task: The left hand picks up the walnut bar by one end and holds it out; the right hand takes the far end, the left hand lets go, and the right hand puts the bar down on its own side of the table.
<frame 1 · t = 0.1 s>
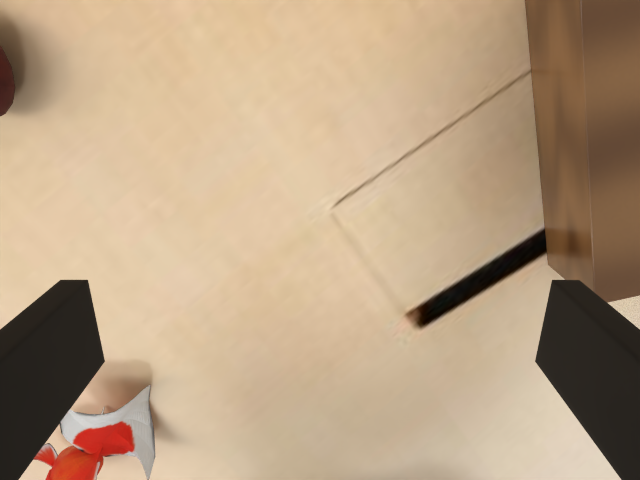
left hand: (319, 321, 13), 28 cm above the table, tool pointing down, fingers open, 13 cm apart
bar: (564, 136, 39), on the table
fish: (112, 415, 49), on the table
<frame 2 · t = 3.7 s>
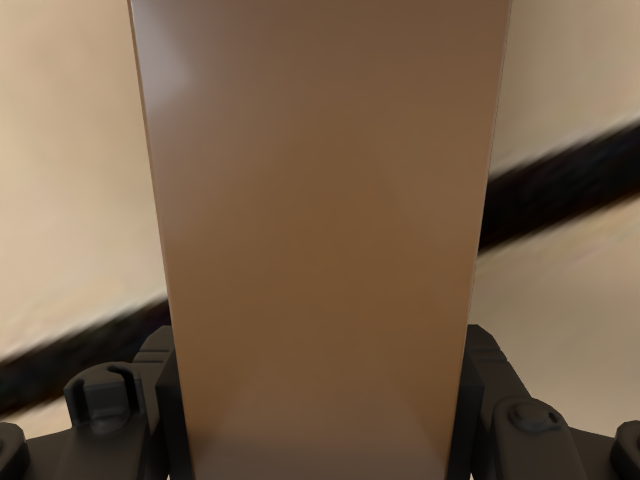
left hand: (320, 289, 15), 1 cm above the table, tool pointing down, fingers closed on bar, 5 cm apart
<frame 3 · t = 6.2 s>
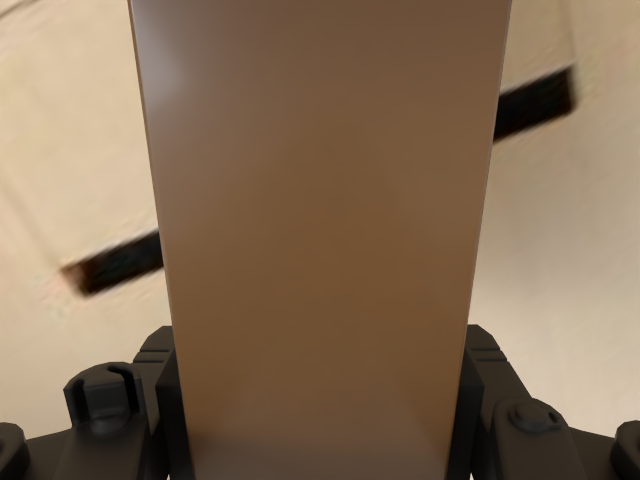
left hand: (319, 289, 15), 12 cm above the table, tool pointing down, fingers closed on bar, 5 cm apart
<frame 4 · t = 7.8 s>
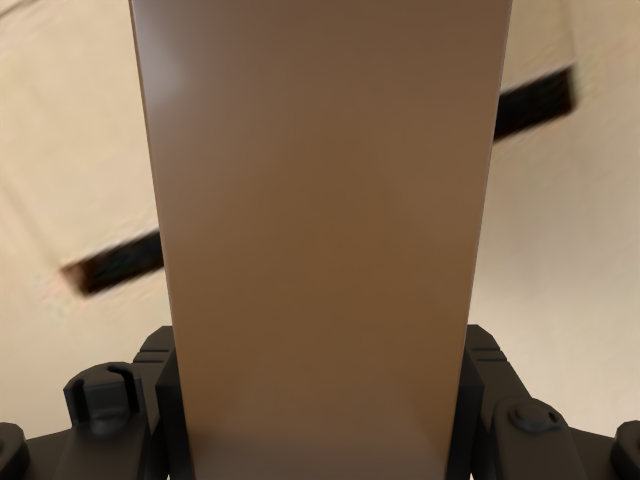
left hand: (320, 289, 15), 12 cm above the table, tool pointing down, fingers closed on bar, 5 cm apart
when the left hand's fingers open (12 cm above the table, at t = 8.8 s): bar stays where it is, held by the right hand.
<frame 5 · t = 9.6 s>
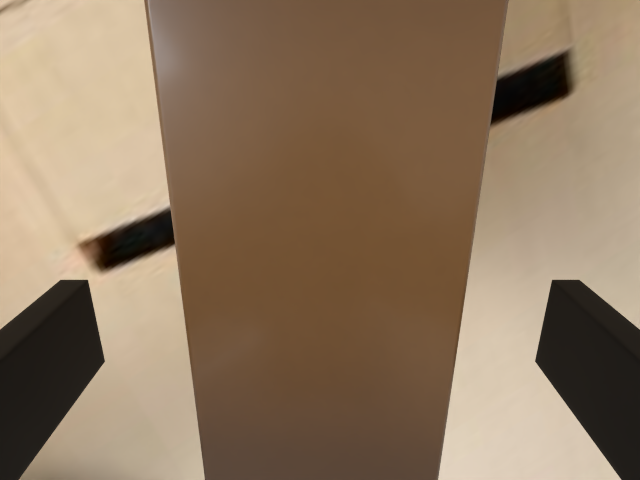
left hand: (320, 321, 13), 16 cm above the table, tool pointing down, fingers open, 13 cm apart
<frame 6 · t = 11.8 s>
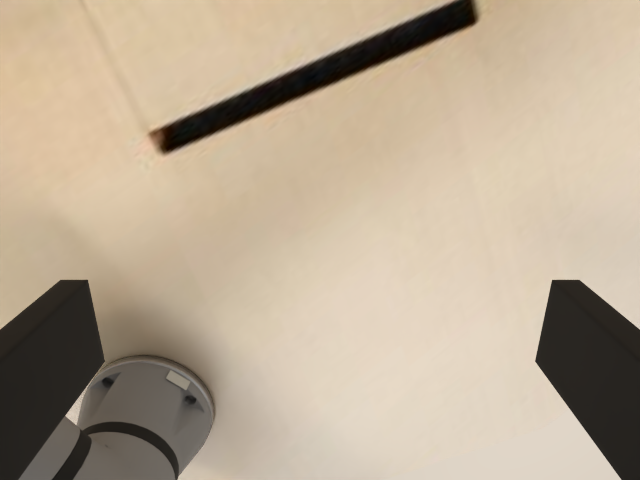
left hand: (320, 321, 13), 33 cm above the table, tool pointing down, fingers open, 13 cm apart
when the right hand's fingers open (4 cm above the table, at t = 16.1 s): bar stays where it is, on the table.
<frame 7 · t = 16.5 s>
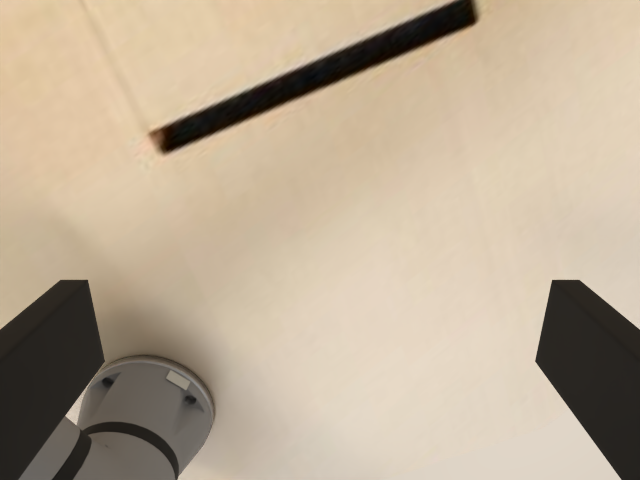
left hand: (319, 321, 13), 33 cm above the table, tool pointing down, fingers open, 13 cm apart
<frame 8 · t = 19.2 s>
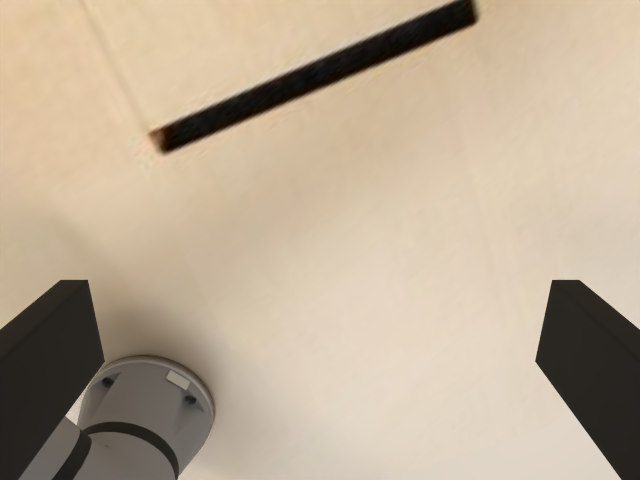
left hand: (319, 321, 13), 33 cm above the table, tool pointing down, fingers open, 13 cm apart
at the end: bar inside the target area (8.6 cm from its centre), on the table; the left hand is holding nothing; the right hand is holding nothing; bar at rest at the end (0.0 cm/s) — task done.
